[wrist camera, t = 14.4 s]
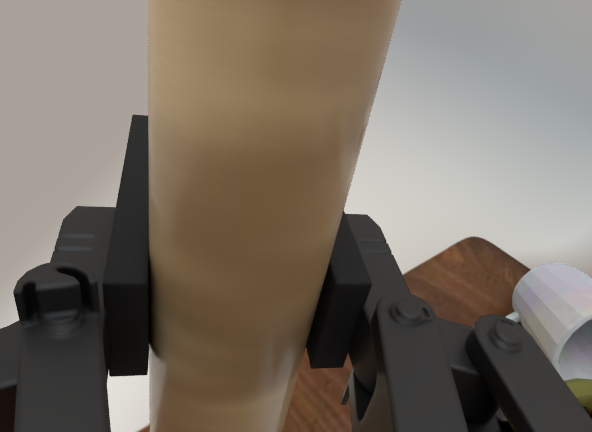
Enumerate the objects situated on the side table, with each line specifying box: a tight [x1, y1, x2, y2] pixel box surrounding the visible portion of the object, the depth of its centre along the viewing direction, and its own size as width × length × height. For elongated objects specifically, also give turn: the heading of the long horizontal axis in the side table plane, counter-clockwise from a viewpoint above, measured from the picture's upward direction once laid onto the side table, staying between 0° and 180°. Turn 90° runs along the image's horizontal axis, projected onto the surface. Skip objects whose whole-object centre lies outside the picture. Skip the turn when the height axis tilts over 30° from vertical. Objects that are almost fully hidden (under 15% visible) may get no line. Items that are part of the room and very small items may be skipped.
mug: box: [506, 263, 592, 381], centre depth 50 cm, size 10×15×10 cm
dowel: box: [148, 0, 402, 432], centre depth 12 cm, size 4×4×28 cm
